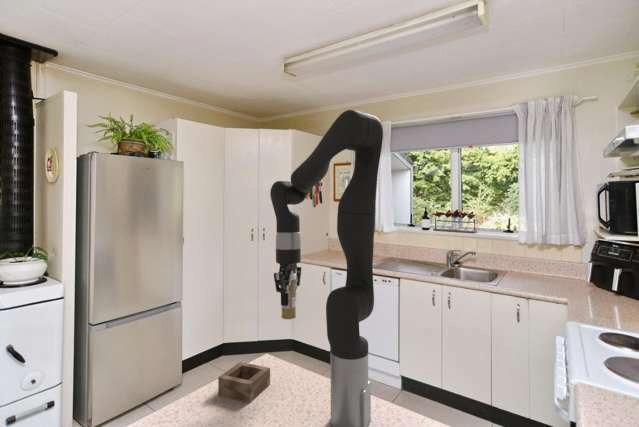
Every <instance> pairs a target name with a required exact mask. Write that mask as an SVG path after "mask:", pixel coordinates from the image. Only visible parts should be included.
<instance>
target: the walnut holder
mask: <svg viewBox="0 0 639 427" xmlns="http://www.w3.org/2000/svg"><path fill="white" fill-rule="evenodd" d="M217 381H218V384H217V386H218V396H221V397H225V398H229V399H232V400H236V401H241V402H244V403H249V404H250V403H252V402H253V401H254V400H255V399H256V398H257V397H258V396H260V394H261V393H264V391H265V390H266V389H267V388H268V387H270V385H271V367H268V366H262V365H258V364H254V363H248V362H243V361H240V362H238V363H237V364H235V365H234V366H233V367H231V368H230V369H228V370H227V371H226V372H224V373H222V374H221V375H219V376H218V380H217Z"/></svg>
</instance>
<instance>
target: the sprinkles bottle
mask: <svg viewBox="0 0 639 427" xmlns="http://www.w3.org/2000/svg"><path fill="white" fill-rule="evenodd" d="M295 279H296V274H295V273H293V275H292V276H291V285H290V286H289V291H288V300H289V304H288V306H282V305H281V304H280V306H281V316H280V317H281V319H283V320H294V319H296V317H297V313H296V312H297V311H296V306H297V302H296V301H297V291H296V292H295ZM284 282H288V281H286V280H284ZM285 289H286V285H285Z"/></svg>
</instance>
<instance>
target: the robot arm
mask: <svg viewBox="0 0 639 427" xmlns="http://www.w3.org/2000/svg"><path fill="white" fill-rule="evenodd" d="M383 140H384V128H383V124H382V122H381V120H380V118H378V117H377V116H376V115H373V114H369V113H365V112H363V111H360V110H356V109H347V110H345V111H343V112H341V113H340V114H339V116H338V117H337V118H335V120H334V121H333V123H332V124H331V126H330V127H329V129H328V130H327V131H326V133H325V134H324V136H322V138H321V139H320V141H319V142H318V144H317V146H316V147H315V148H314V150H313V151H312V152H311V153H310V155H309V156H308V157H307V158H306V159H305V160H303V162H302V163H300V165H298V166H297V168H296V169H295V170H294V171H293V172H292V173H291V175H290V181H287V180H285V181H284V180H277V181H275V182H273V184H272V185H271V187H270V191H269V192H270V194H269V196H270V201H271V204H272V208H273V211H274V215H275V220H276V233H275V234H276V235H275V236H276V237H275V263H277V264H279V269H278V272H274V273H273V279H274V284H275V290H276V293H280V306H281V305H282V306H288V304H289V300H288V291H289V286H290V285H291V276H292V275H293V273H295V274H296V279H295V292H296V293H297V289H298V287H300V285H301V277H302V266H298V265H297V264H300V263H301V261H302V259H301V258H302V255H301V253H302V252H301V248H302V246H301V245H302V244H301V234H300V226H301V225H300V224H301V223H300V216H299V214H298V213H296V212H293V211H291V210H290V208H289V206H288V205H290V206H293V205H294V206H295V205H299V204H301V203H303V202H304V201H305V199H306V198H307V196H308V194H309V193H310V191H311V190H312V189H313V188H314V187H315V186H316V185H317V184H318V183H321V181H322V180H323V179H324V178H325V177H326V175H327V173H328V171H329V167H330V164H331V161H332V159H333V158H334V157H336V156H337V155H338V154H340V153H342V152H343V151H346V150H348V151H352V152H353V151H354V152H355V153H354V155H355V156H354V167H353V174H352V176H351V179H350V180H349V182H348V184H347V186H346V188H344V191H343V193H342V195H341V196H340V200H339V201H338V206H337V218H336V233H337V237H338V240H339V243H340V246H341V249H342V251H343V254H344V257H345V260H346V261H345V262H346V279H345V285H344V286H340V287H338V288H335V289H333V290H332V291H331V292H329V294H328V295H327V299H326V302H325V303H326V305H325V316H326V317H325V318H326V319H325V320H326V321H325V322H326V334H327V335H326V336H327V339H328V343H329V347H330V423H331V426H332V427H368V426H369V424H370V422H371V420H372V418H371V417H372V415H371V414H372V406H371V404H372V399H371V397H372V396H371V395H372V392H371V391H372V390H371V389H372V388H371V387H372V385H371V384H372V382H371V381H370V380H369V342H368V340H367V339H366V337H364V336H362V335H361V334H360V322H363V321H365V320H366V319H368V318H369V317H370V315H371V314H372V312H373V310H374V306H375V292H374V291H375V289H374V272H373V270H374V269H373V267H374V266H373V265H374V264H373V263H374V262H373V261H374V245H375V244H374V242H375V230H376V229H375V227H376V213H377V212H376V205H377V203H376V202H377V200H376V198H377V188H378V187H377V186H378V174H379V166H380V161H381V160H380V159H381V154H382V146H383ZM284 280H286V281H288V282H284ZM285 285H286V289H285Z"/></svg>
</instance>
